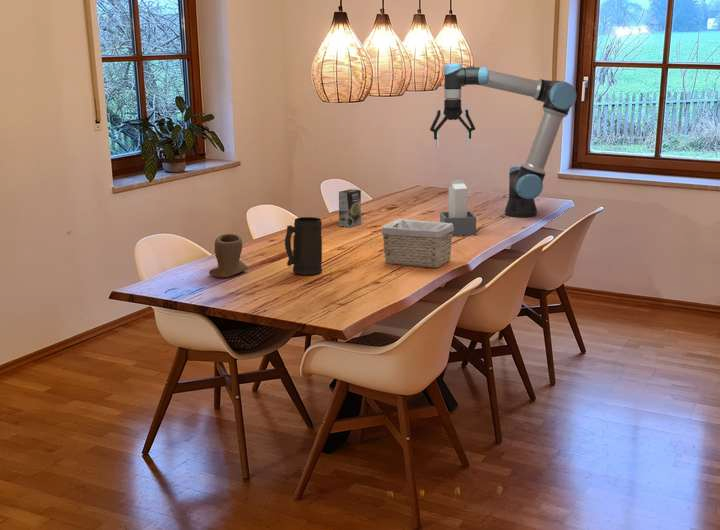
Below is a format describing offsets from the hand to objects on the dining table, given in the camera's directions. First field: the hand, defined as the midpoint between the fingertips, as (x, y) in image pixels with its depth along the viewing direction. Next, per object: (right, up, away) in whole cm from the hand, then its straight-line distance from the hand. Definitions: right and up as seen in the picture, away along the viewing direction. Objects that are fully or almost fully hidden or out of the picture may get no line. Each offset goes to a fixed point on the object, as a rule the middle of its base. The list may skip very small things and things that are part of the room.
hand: (452, 146), depth 386 cm
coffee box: (-46, -36, +6) cm, 59 cm away
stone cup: (-89, -57, -72) cm, 128 cm away
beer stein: (-62, -57, -73) cm, 111 cm away
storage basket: (-20, -53, -60) cm, 82 cm away
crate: (+1, -39, -13) cm, 42 cm away
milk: (+1, -39, -14) cm, 41 cm away
